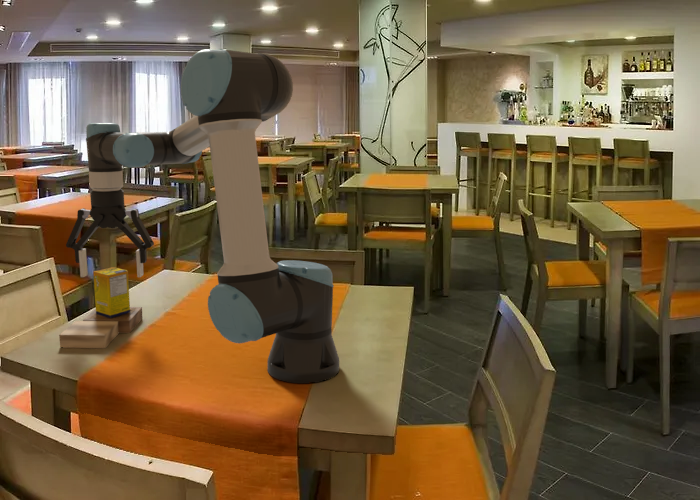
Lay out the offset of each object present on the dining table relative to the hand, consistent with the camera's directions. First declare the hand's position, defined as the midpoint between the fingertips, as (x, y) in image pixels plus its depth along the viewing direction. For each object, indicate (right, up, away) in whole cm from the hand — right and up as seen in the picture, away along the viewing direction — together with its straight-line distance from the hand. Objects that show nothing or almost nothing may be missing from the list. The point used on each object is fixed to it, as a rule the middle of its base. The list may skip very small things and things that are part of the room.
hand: (112, 276), depth 164 cm
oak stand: (-2, -15, -8) cm, 17 cm away
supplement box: (-1, -10, +2) cm, 10 cm away
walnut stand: (-1, -12, +3) cm, 13 cm away
